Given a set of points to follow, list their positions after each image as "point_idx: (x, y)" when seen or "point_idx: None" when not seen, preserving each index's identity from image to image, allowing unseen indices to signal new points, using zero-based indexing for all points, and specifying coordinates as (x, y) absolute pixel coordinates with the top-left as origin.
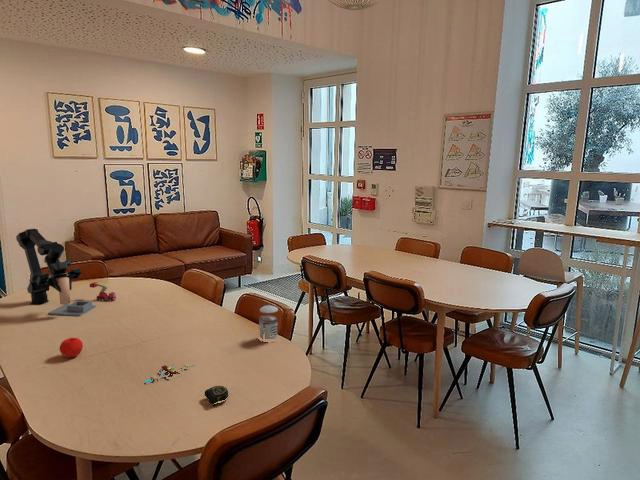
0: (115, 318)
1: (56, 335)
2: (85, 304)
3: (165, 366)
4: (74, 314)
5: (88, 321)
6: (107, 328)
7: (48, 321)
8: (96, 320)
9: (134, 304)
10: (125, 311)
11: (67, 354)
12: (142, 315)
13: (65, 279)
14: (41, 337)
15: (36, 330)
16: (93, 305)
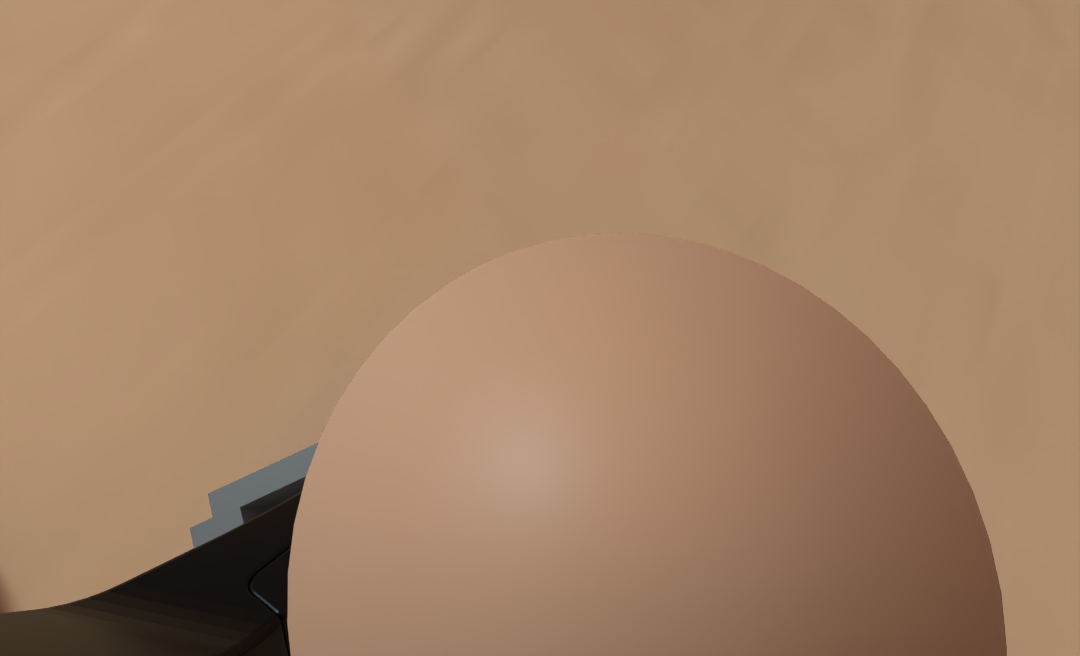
0: (386, 121)
1: (854, 154)
2: None
3: None
4: None
5: (539, 219)
6: (556, 20)
7: None
8: (489, 190)
9: (22, 270)
10: (220, 185)
11: None
12: (253, 36)
13: (674, 239)
14: (954, 200)
15: (940, 374)
16: (205, 538)
